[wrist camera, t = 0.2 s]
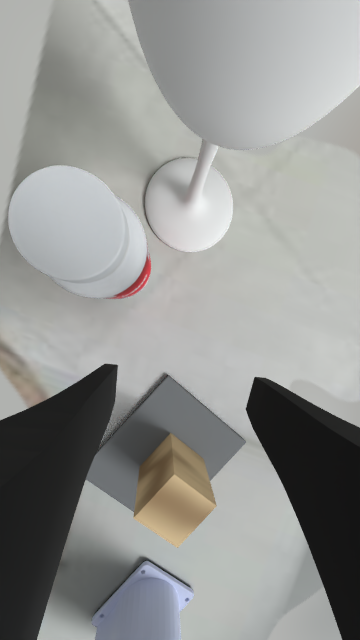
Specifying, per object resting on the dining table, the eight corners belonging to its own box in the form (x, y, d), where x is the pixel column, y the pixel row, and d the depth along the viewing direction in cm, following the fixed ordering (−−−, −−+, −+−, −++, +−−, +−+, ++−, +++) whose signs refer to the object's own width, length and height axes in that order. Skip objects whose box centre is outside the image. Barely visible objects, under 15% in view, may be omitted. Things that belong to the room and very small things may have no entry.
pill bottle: (99, 306, 19) (19, 315, 8) (78, 244, 18) (-42, 162, 7) (159, 288, 20) (159, 275, 9) (141, 227, 19) (116, 128, 8)
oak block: (173, 491, 22) (177, 547, 17) (139, 466, 21) (133, 518, 16) (203, 458, 22) (216, 505, 17) (170, 432, 21) (174, 474, 16)
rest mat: (162, 527, 22) (162, 531, 22) (79, 470, 21) (78, 473, 20) (244, 439, 22) (245, 442, 22) (168, 374, 21) (168, 376, 20)
